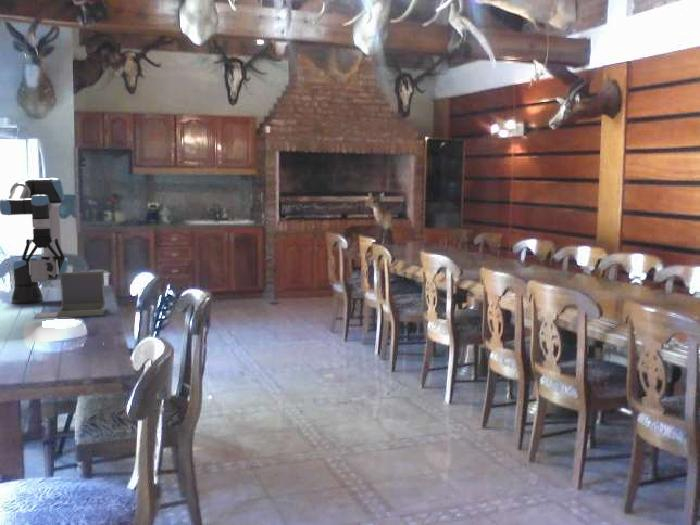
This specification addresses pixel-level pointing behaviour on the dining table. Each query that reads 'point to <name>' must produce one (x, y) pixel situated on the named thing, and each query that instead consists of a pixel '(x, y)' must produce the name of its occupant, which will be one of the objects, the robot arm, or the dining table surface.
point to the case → (82, 294)
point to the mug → (42, 269)
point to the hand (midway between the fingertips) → (44, 274)
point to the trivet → (45, 315)
